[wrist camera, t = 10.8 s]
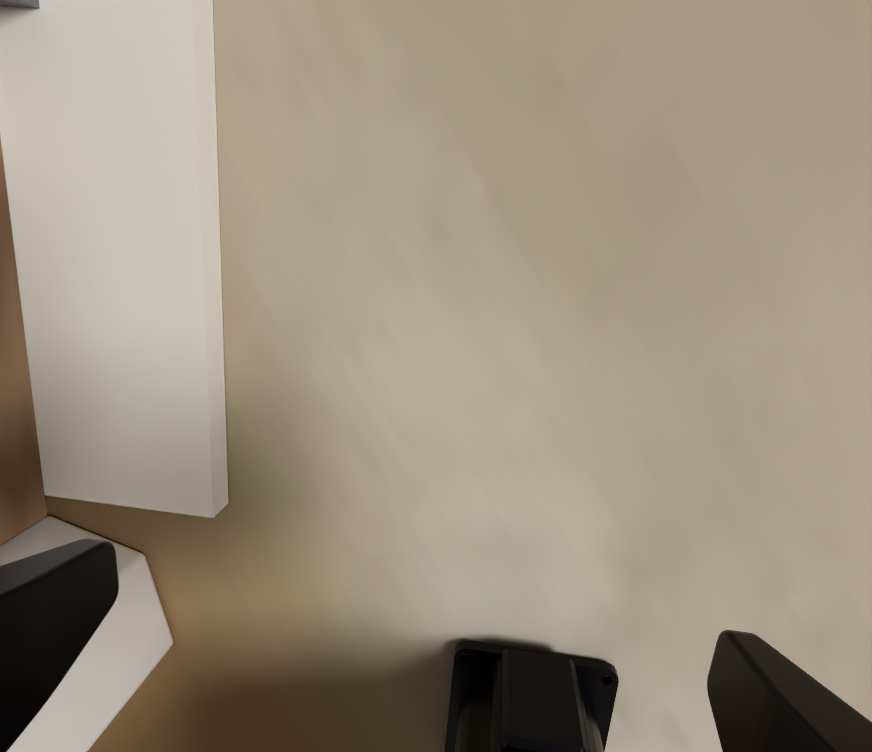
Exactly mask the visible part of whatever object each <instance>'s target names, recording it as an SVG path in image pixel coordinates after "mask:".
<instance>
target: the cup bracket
mask: <svg viewBox="0 0 872 752" xmlns="http://www.w3.org/2000/svg"><path fill="white" fill-rule="evenodd" d="M0 5H1V6H3V7H16V8H40V6H39V0H0Z"/></svg>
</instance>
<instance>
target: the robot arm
mask: <svg viewBox="0 0 872 752" xmlns="http://www.w3.org/2000/svg"><path fill="white" fill-rule="evenodd" d="M118 592H119V579H118V569H117V559H116V550H115V547H114V545H113V544H112V543H111V542H109V541H104V540H97V539H90V538H85V539H80V540H77V541H74V542H71V543H68V544H65V545H62V546H59V547H56V548H53V549H50V550H47V551H44V552H41V553H38V554H35V555H32V556H29V557H26V558H23V559H20V560H17V561H14V562H11V563H8V564H5V565H2V566H0V752H7V751H8V750H9V748H10V747H11V746H12V745H13V743H14V742H15V741H16V740H17V739H18V737H19V736H20V735H21V734H22V732H23V731H24V730H25V729H26V727H27V726H28V725H29V724H30V722H31V721H32V720H33V719H34V718H35V716H36V715H37V714H38V712H39V711H40V710H41V709H42V707H43V706H44V705H45V703H46V702H47V701H48V699H49V698H50V697H51V695H52V694H53V692H54V691H55V690H56V688H57V687H58V686H59V684H60V683H61V681H62V680H63V678H64V677H65V675H66V674H67V672H68V671H69V670H70V668H71V667H72V665H73V664H74V662H75V661H76V659H77V658H78V656H79V655H80V653H81V652H82V650H83V649H84V648H85V646H86V645H87V643H88V642H89V640H90V639H91V637H92V636H93V634H94V633H95V631H96V630H97V628H98V627H99V625H100V624H101V623H102V621H103V620H104V618H105V617H106V615H107V614H108V612H109V611H110V609H111V608H112V606H113V605H114V603H115V601H116V599H117V596H118ZM463 654H470V655H471V656H469V657H466V656H464V655H463ZM603 675H608V677H605V678H602V677H601V676H603ZM618 683H619V682H618V675H617V671H616V669H615V667H614V666H613V665H612V664H610V663H607V662H601V661H595V660H588V659H581V658H575V657H568V656H562V655H555V654H548V653H542V652H535V651H529V650H522V649H515V648H509V647H502V646H496V645H489V644H482V643H476V642H469V641H464V642H461V643H459V644H458V645H457V646H456V649H455V656H454V666H453V676H452V685H451V695H450V705H449V715H448V724H447V734H446V744H445V752H604V751H605V746H606V741H607V736H608V731H609V726H610V721H611V717H612V712H613V707H614V702H615V697H616V692H617V687H618ZM707 689H708V696H709V700H710V704H711V708H712V712H713V716H714V719H715V723H716V727H717V731H718V735H719V739H720V743H721V747H722V750H723V752H872V722H871V721H869V720H868V719H867V718H865V717H864V716H863V715H861V714H860V713H859V712H857V711H856V710H855V709H853V708H852V707H851V706H849V705H848V704H847V703H845V702H844V701H843V700H842V699H840V698H839V697H838V696H836V695H835V694H834V693H832V692H831V691H830V690H828V689H827V688H826V687H824V686H823V685H822V684H820V683H819V682H818V681H816V680H815V679H814V678H812V677H811V676H810V675H809V674H807V673H806V672H805V671H803V670H802V669H801V668H799V667H798V666H797V665H795V664H794V663H793V662H791V661H790V660H789V659H787V658H786V657H785V656H783V655H782V654H781V653H779V652H778V651H777V650H776V649H774V648H773V647H772V646H770V645H769V644H768V643H766V642H765V641H764V640H762V639H761V638H760V637H758V636H757V635H755V634H752V633H747V632H739V631H732V630H725V631H723V632H721V633H720V635H719V637H718V640H717V643H716V647H715V651H714V655H713V659H712V663H711V666H710V670H709V674H708V680H707Z"/></svg>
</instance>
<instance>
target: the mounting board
mask: <svg viewBox="0 0 872 752" xmlns="http://www.w3.org/2000/svg"><path fill="white" fill-rule="evenodd" d="M39 6H40V8H16V7H3V6H1V5H0V137H1V145H2V153H3V161H4V169H5V177H6V186H7V194H8V202H9V210H10V218H11V226H12V234H13V242H14V250H15V258H16V267H17V275H18V283H19V291H20V299H21V307H22V315H23V323H24V331H25V340H26V348H27V356H28V364H29V372H30V380H31V388H32V396H33V404H34V413H35V421H36V429H37V437H38V445H39V453H40V461H41V469H42V477H43V485H44V494H45V495H47V496H54V497H61V498H69V499H76V500H83V501H91V502H98V503H106V504H113V505H120V506H128V507H135V508H142V509H150V510H157V511H165V512H172V513H179V514H187V515H194V516H201V517H209V518H214V517H215V516H216V515H217V514H218V513H219V512H220V511H221V510H222V509H223V508H224V507H225V506H226V505H227V504H228V474H227V442H226V411H225V379H224V348H223V316H222V285H221V253H220V222H219V190H218V159H217V127H216V96H215V64H214V33H213V1H212V0H39Z"/></svg>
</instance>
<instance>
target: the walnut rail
mask: <svg viewBox="0 0 872 752" xmlns="http://www.w3.org/2000/svg"><path fill="white" fill-rule="evenodd" d="M45 516H47V510H46V502H45V494H44V485H43V477H42V469H41V461H40V453H39V445H38V437H37V429H36V421H35V413H34V404H33V396H32V388H31V380H30V372H29V364H28V356H27V348H26V340H25V331H24V323H23V315H22V307H21V299H20V291H19V283H18V275H17V267H16V258H15V250H14V242H13V234H12V226H11V218H10V210H9V202H8V194H7V186H6V177H5V169H4V161H3V153H2V145H1V137H0V545H1V544H2V543H4V542H5V541H7V540H9V539H10V538H12V537H13V536H15V535H17V534H18V533H20V532H21V531H23V530H25V529H26V528H28V527H29V526H31V525H33V524H34V523H36V522H37V521H39V520H41V519H42V518H44V517H45Z"/></svg>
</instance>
